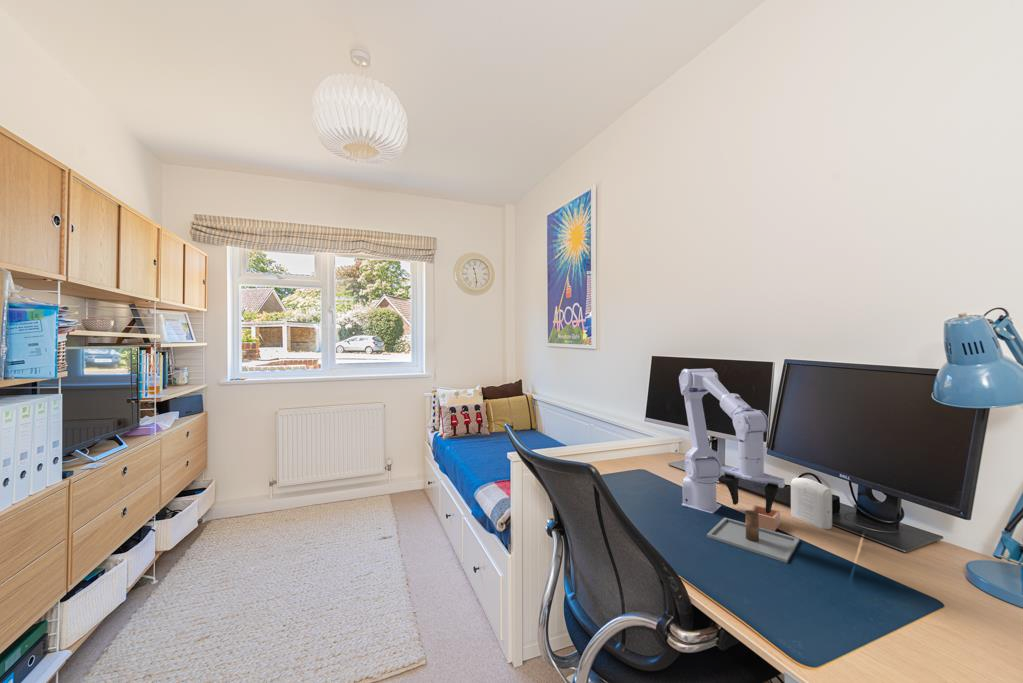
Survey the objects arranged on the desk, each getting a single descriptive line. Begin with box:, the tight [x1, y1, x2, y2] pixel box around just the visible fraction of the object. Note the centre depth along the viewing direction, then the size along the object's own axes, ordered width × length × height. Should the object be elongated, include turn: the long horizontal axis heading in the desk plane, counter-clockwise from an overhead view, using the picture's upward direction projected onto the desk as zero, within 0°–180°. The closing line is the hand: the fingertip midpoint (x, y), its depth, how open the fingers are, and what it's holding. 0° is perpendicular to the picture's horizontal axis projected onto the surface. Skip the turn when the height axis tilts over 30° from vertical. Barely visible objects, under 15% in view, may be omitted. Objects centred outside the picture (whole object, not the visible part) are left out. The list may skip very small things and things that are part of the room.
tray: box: [706, 517, 800, 564], centre depth 105 cm, size 18×14×1 cm
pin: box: [744, 509, 759, 542], centre depth 105 cm, size 3×3×7 cm
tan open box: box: [750, 504, 781, 532], centre depth 113 cm, size 6×6×4 cm
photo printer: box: [790, 477, 833, 530], centre depth 114 cm, size 10×4×12 cm, turn 17°
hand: (751, 507), depth 105 cm, fingers open, 7 cm apart
